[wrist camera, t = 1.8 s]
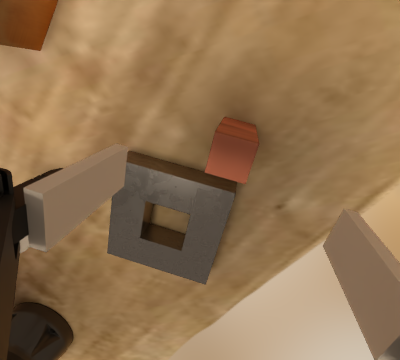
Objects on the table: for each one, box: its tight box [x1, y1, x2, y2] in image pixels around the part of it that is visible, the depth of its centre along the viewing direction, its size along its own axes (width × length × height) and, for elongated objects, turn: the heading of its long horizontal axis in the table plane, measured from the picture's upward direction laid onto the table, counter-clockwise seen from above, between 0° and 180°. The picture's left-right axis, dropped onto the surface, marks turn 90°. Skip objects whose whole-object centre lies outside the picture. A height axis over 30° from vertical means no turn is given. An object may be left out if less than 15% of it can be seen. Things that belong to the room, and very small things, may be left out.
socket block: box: [107, 151, 237, 285], centre depth 35 cm, size 16×16×4 cm
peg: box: [205, 117, 259, 184], centre depth 26 cm, size 4×4×10 cm
